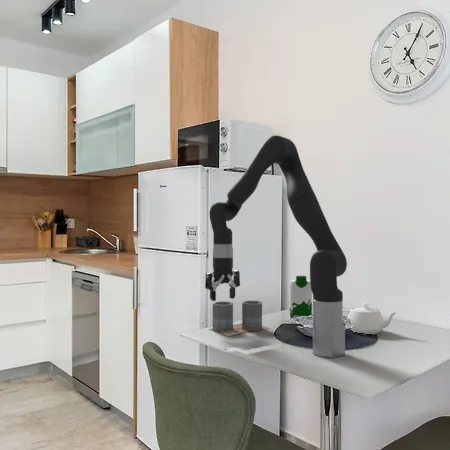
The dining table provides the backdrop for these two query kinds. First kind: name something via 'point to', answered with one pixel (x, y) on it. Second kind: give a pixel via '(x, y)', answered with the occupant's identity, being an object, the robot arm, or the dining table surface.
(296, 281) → the milk carton
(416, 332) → the dining table surface
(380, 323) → the teapot
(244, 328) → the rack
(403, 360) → the dining table surface
